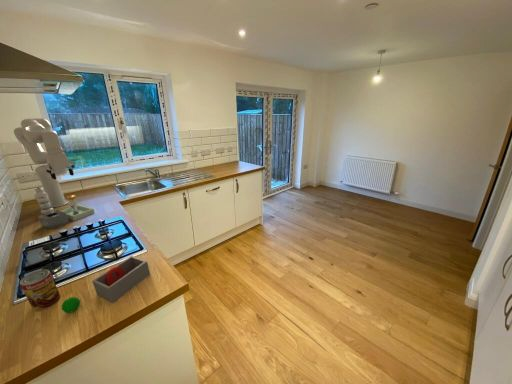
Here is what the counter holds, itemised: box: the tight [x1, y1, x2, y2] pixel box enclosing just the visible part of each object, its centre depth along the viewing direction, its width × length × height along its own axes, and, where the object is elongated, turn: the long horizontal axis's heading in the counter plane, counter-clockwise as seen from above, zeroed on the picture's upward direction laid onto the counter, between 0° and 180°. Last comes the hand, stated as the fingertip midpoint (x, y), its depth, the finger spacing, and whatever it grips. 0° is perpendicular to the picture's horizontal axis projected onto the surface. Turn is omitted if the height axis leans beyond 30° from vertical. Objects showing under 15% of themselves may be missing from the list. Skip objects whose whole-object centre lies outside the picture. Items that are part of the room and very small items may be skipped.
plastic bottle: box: [34, 186, 55, 216], centre depth 148 cm, size 6×7×20 cm
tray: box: [60, 204, 95, 221], centre depth 152 cm, size 18×13×3 cm
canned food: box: [19, 268, 62, 312], centre depth 79 cm, size 8×8×12 cm
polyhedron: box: [61, 296, 81, 314], centre depth 77 cm, size 5×5×5 cm
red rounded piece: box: [105, 265, 128, 286], centre depth 89 cm, size 12×4×8 cm, turn 154°
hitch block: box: [37, 210, 70, 230], centre depth 137 cm, size 10×10×7 cm
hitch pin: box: [65, 194, 80, 215], centre depth 150 cm, size 5×5×13 cm
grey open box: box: [91, 255, 151, 304], centre depth 88 cm, size 10×17×7 cm, turn 156°
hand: (63, 177), depth 142 cm, fingers open, 9 cm apart
